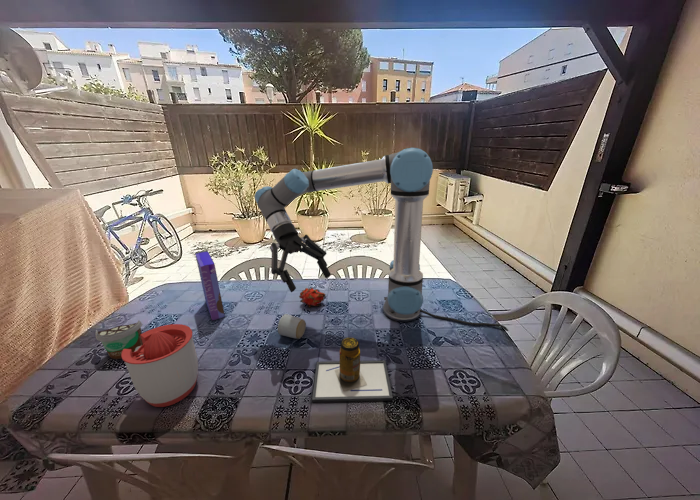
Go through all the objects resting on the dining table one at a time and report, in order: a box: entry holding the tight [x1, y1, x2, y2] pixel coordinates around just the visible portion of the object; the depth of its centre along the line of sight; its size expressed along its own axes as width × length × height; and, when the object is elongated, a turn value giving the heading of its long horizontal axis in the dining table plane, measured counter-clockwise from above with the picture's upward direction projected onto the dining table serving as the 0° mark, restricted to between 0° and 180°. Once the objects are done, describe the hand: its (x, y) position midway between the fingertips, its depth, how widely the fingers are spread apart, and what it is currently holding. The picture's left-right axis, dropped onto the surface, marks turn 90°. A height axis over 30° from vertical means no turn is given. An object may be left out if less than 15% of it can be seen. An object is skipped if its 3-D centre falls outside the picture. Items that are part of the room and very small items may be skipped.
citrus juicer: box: [121, 323, 199, 408], centre depth 74 cm, size 16×17×20 cm
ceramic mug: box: [277, 313, 307, 339], centre depth 100 cm, size 11×8×8 cm
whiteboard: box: [311, 359, 394, 403], centre depth 80 cm, size 22×14×1 cm, turn 91°
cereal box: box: [194, 250, 226, 322], centre depth 112 cm, size 17×5×24 cm, turn 34°
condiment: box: [335, 337, 367, 391], centre depth 79 cm, size 7×8×12 cm
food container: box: [95, 319, 143, 360], centre depth 89 cm, size 12×6×10 cm, turn 117°
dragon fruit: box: [298, 287, 327, 308], centre depth 119 cm, size 8×8×12 cm
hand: (311, 283), depth 86 cm, fingers open, 13 cm apart
